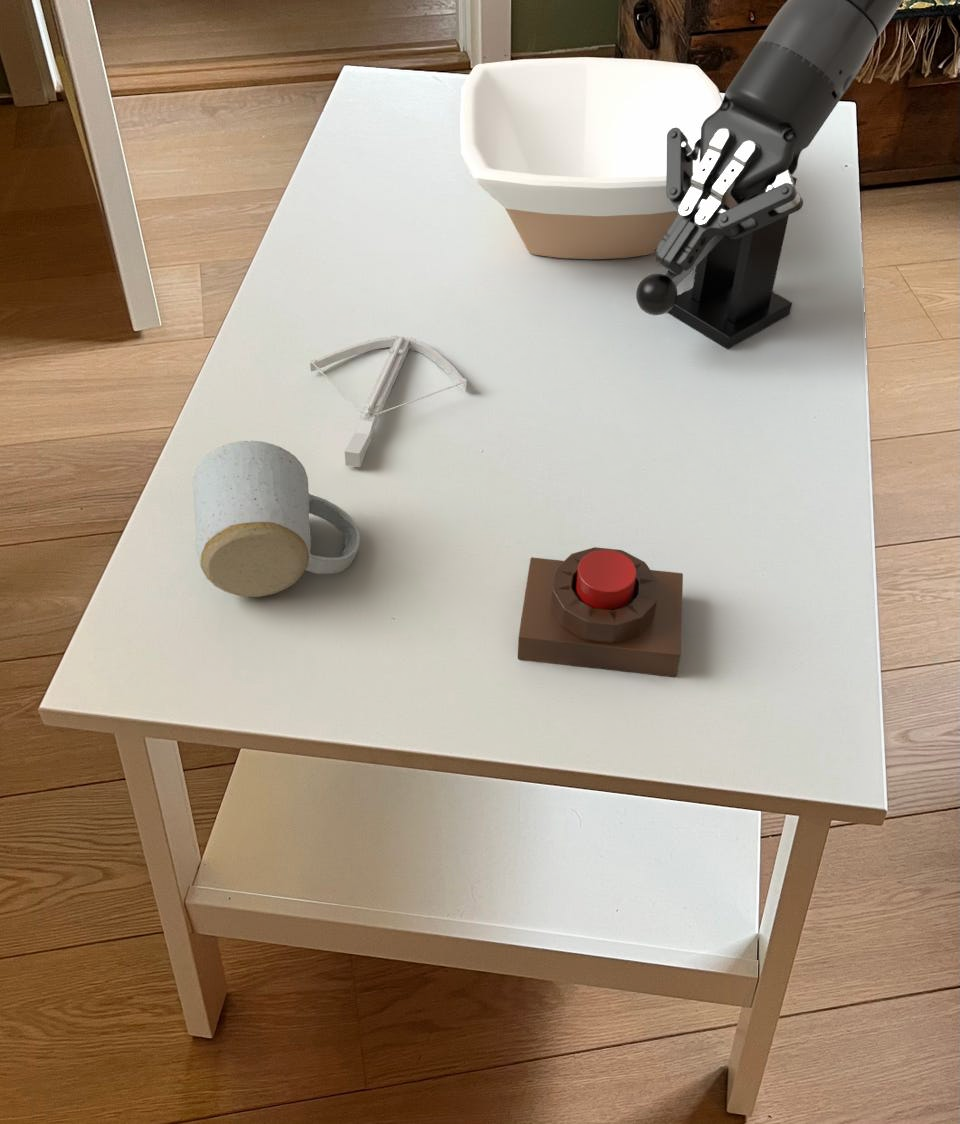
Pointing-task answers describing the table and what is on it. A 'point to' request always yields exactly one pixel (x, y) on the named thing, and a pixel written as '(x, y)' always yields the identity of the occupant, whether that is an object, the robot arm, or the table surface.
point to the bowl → (581, 148)
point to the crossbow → (381, 385)
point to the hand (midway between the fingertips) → (667, 267)
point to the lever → (666, 286)
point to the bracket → (736, 287)
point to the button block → (601, 620)
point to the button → (606, 579)
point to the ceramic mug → (261, 520)
